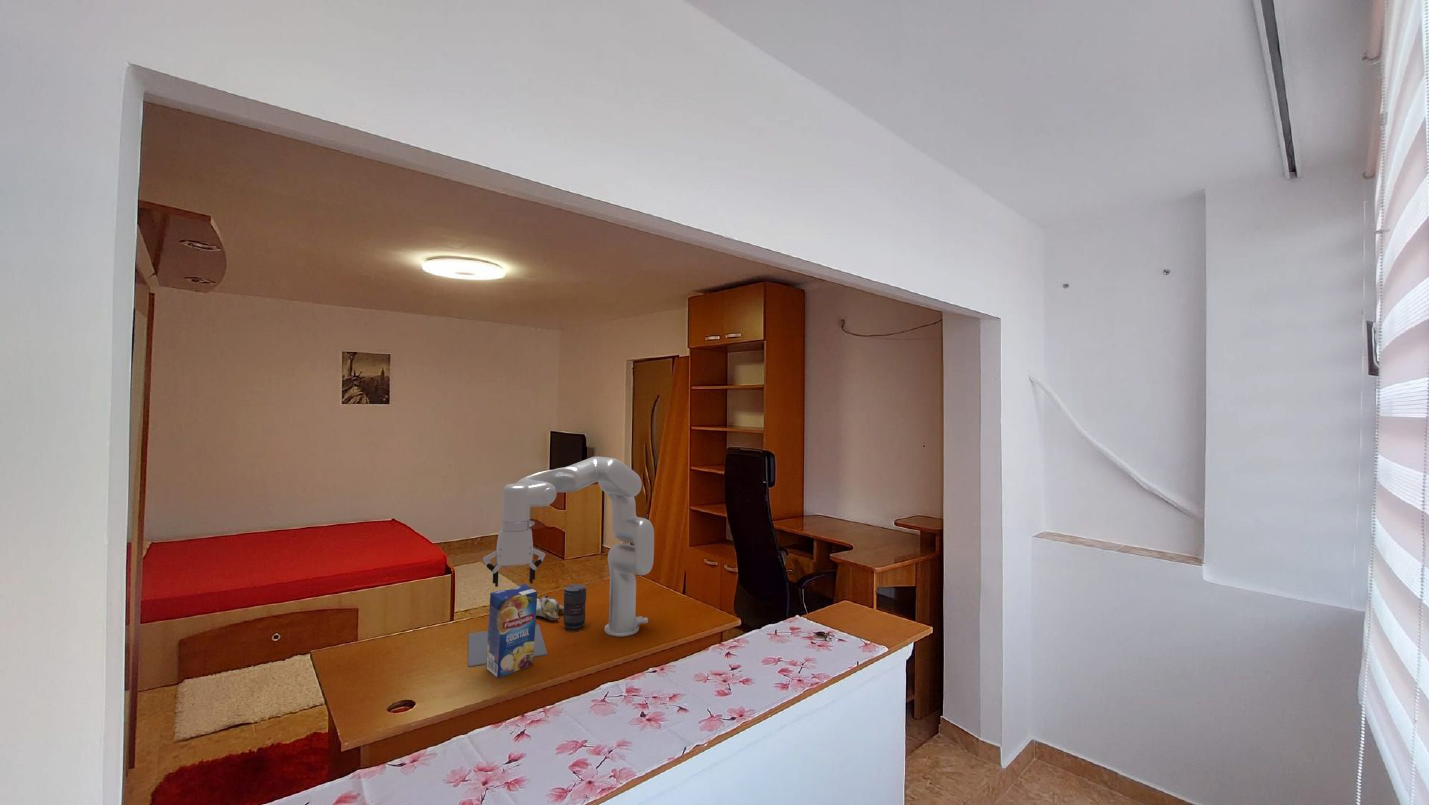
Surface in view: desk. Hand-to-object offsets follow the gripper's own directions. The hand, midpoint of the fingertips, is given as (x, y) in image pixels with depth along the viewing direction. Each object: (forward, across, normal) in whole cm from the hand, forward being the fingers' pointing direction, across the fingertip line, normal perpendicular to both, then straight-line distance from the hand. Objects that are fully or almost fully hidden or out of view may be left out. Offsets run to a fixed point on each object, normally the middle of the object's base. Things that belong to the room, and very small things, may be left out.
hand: (513, 583), depth 166 cm
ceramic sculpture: (+30, -16, -50) cm, 61 cm away
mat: (+30, 0, -30) cm, 42 cm away
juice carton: (+30, 0, -12) cm, 33 cm away
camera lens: (+30, -24, -36) cm, 53 cm away
